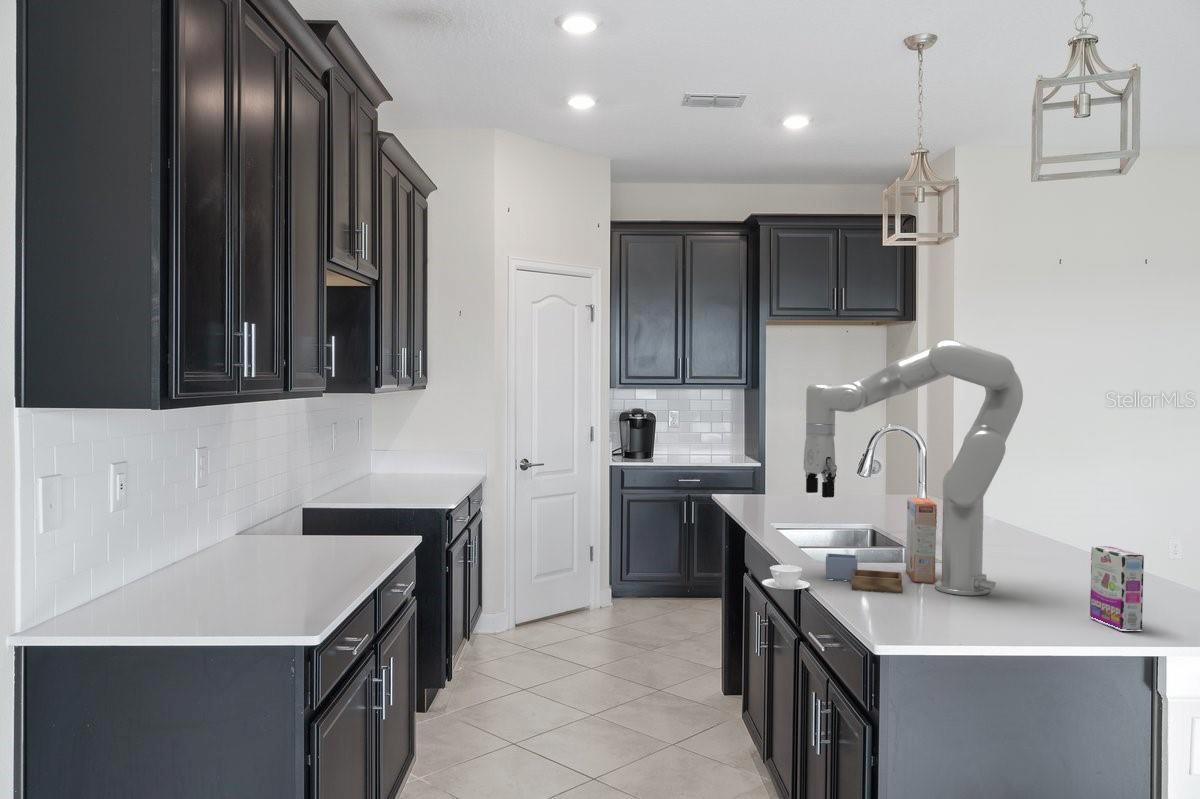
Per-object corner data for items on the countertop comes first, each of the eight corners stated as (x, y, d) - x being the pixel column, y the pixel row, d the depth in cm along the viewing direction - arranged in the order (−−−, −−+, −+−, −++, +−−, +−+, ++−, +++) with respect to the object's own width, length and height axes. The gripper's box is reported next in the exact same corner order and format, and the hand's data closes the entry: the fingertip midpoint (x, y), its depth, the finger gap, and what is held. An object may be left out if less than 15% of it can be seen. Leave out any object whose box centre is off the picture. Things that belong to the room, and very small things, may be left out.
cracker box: (936, 584, 235) (937, 504, 235) (912, 582, 237) (913, 503, 236) (928, 572, 249) (929, 497, 249) (905, 571, 250) (906, 496, 250)
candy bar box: (1144, 632, 191) (1145, 555, 191) (1121, 632, 191) (1123, 555, 190) (1109, 618, 202) (1111, 545, 202) (1088, 618, 202) (1089, 545, 201)
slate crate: (857, 577, 242) (857, 555, 242) (856, 581, 237) (857, 559, 237) (826, 575, 245) (827, 553, 245) (825, 579, 240) (825, 557, 239)
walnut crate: (901, 585, 233) (901, 572, 233) (901, 593, 224) (901, 579, 224) (852, 582, 236) (852, 569, 236) (851, 590, 228) (851, 576, 228)
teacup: (755, 590, 227) (755, 569, 227) (769, 581, 237) (770, 561, 237) (802, 596, 221) (803, 575, 221) (815, 586, 232) (815, 566, 232)
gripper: (793, 429, 248) (793, 491, 248) (821, 432, 231) (821, 499, 231) (819, 428, 249) (818, 490, 250) (848, 432, 232) (848, 498, 233)
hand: (819, 494), depth 240 cm, fingers open, 9 cm apart
